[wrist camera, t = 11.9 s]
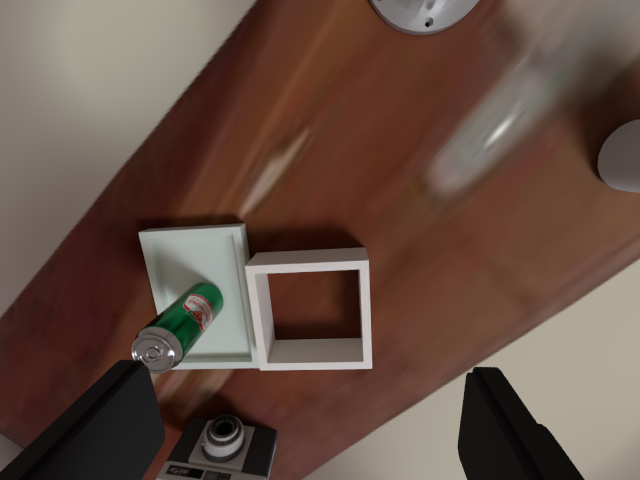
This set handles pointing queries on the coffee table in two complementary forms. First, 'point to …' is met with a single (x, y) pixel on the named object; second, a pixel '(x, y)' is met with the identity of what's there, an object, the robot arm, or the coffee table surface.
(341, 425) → the coffee table surface
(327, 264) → the holder
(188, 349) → the soda can
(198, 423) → the camera
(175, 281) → the tray
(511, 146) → the coffee table surface
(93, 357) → the coffee table surface
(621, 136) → the can
